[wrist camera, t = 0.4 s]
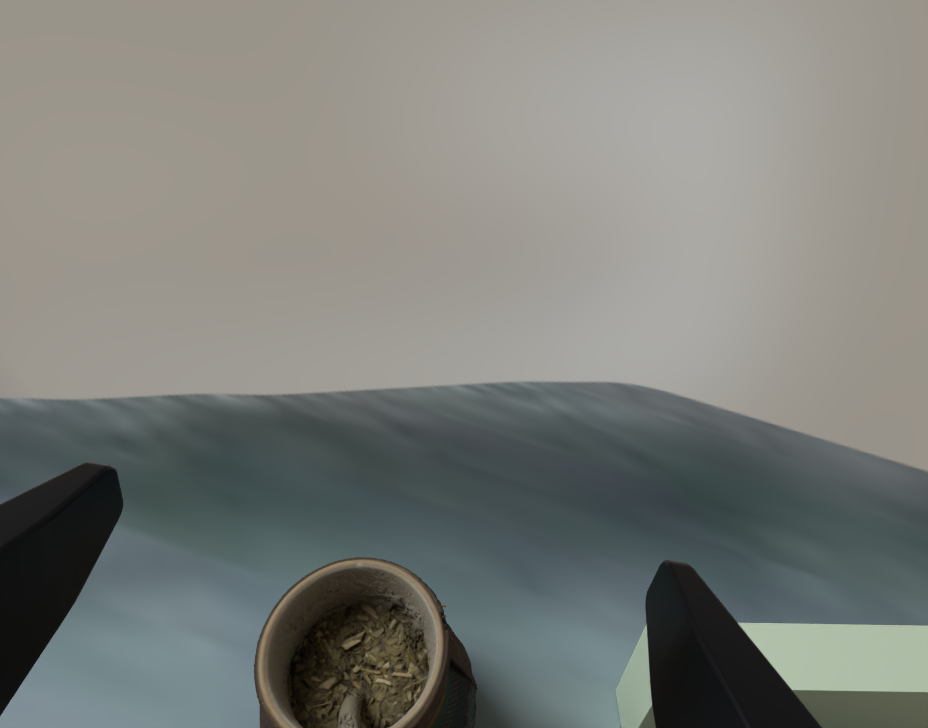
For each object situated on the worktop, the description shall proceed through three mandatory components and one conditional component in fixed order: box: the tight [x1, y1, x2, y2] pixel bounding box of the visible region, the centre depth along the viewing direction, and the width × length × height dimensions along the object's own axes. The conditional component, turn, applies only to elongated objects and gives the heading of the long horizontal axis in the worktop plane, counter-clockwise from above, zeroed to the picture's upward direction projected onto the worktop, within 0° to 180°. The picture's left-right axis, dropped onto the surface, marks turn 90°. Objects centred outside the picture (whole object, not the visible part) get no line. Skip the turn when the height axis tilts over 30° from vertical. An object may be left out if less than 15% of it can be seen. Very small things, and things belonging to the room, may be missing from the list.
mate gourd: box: [254, 557, 477, 728], centre depth 19 cm, size 7×8×10 cm
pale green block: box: [616, 623, 928, 728], centre depth 21 cm, size 2×10×6 cm, turn 89°
